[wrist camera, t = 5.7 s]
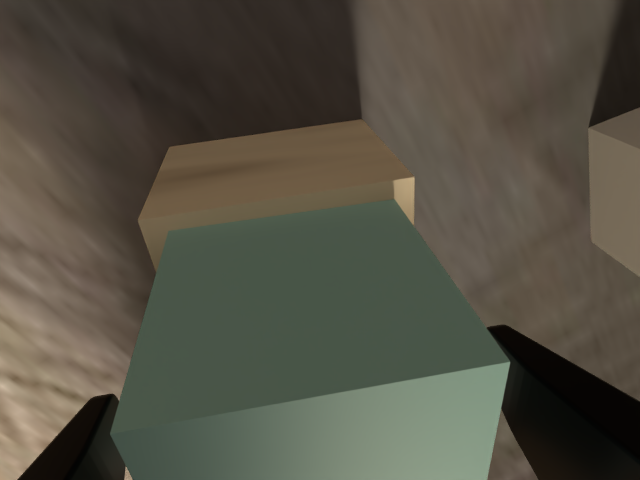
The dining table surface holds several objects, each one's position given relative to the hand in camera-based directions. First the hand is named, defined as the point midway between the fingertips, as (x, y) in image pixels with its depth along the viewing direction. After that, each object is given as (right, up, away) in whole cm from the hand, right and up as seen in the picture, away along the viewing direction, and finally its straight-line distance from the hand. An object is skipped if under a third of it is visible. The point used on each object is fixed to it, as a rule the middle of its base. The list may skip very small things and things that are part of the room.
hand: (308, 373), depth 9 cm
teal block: (0, +1, +2) cm, 2 cm away
